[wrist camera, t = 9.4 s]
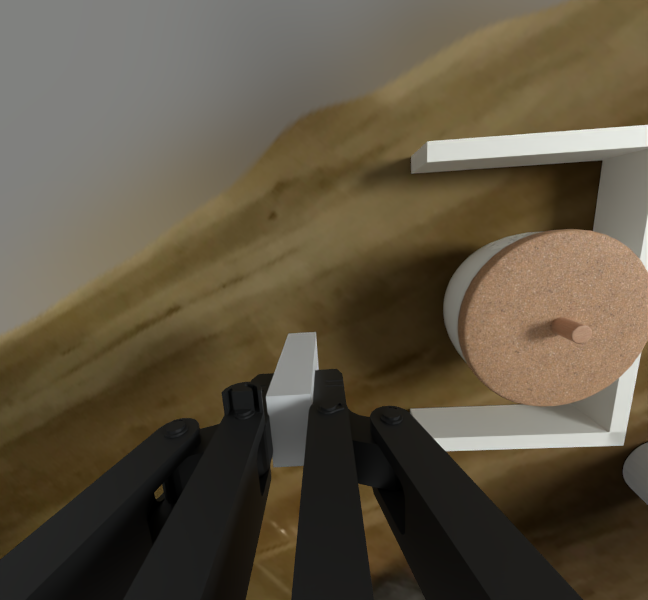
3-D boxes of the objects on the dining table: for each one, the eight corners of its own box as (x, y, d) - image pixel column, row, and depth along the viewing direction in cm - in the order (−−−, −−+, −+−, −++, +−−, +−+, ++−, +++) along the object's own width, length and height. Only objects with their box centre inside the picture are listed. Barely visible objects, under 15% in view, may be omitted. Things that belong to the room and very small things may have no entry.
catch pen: (410, 420, 28) (422, 451, 24) (411, 156, 23) (427, 141, 19) (581, 414, 27) (623, 445, 23) (622, 141, 22) (684, 122, 18)
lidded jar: (404, 266, 24) (447, 287, 15) (534, 204, 23) (666, 188, 14) (451, 375, 26) (514, 452, 17) (573, 325, 25) (710, 379, 16)
